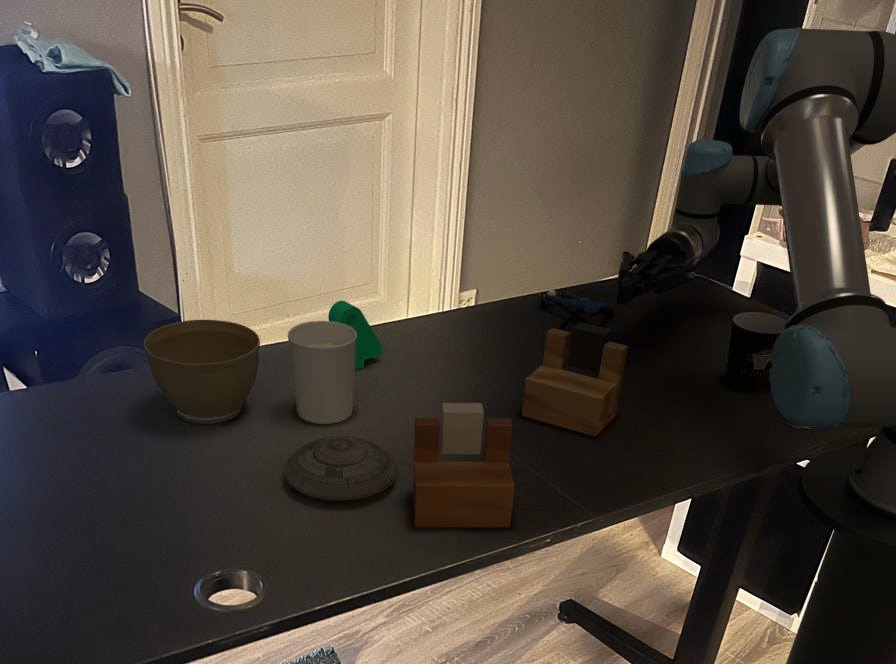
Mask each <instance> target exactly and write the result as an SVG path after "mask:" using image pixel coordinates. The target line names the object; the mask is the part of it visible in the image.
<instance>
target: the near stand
mask: <svg viewBox="0 0 896 664" xmlns="http://www.w3.org/2000/svg"><path fill="white" fill-rule="evenodd" d="M413 431H414V432H413V460H412V461H413V462H412V463H413V464H412V470H413V471H412V493H411V494H412V506H413V520H414V527H415V528H511V523H512V516H513V505H514V496H515V488H516V487H515V482H514V478H513V472H512V469H511V464H510V457H511V456H510V455H511V447H512V445H511V444H512V435H513V422H512V418H511V417H509V418H508V417H487V418H486V423H485V434H484V435H485V436H484V446H483V448H484V449H483V461H439V452H440V451H439V450H440V433H441V422H440V418H439V417H414V430H413Z"/></svg>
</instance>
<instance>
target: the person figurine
mask: <svg viewBox="0 0 896 664" xmlns="http://www.w3.org/2000/svg"><path fill="white" fill-rule="evenodd" d="M564 298H566V299H564ZM548 301H550V302H553V303H557V304H558V305H559V306H562V307H565V308H566V309H568V310H571V311H573V312H572V313H571V315H569V316H568V318H567V319H566V320H564V321H563V322H561V323H560V325H559V327H560V329H561V328H562V329H561V330H563V329H565V327H568V324H569V322H571V320H573V319H574V318H575V317H577V316H578V315H582V314H584V315H585V314H586V315H588V317H589V318H592V317H596V316H600V315H603V318H604V319H605V320H611V319H613V318H614V317H615V310H614V309H613V308H612V305H611V303H610V302H604V301H599V302H594V301H593V300H592V299H591V298H590V297H586V296H585V297H582V296H577V295H576V294H574V293H571V292H568V291H564V290H563V289H558V296H557V292H556V291H555V289H549V290H548V291H547V293H545V292H542V293H541V297H540V307H541V308H543V309H545V308H546V306H547V303H548Z"/></svg>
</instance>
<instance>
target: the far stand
mask: <svg viewBox="0 0 896 664" xmlns="http://www.w3.org/2000/svg"><path fill="white" fill-rule="evenodd" d="M570 336H571V331H565V330H563V329H559V328H553V327H551V328H550V329H549V330H547V331H546V334H545V343H544V350H543V359H542V364H541V365H540V366H539V367H538V368H536V370H534V371H533V372H532V373H531V374H529V375H528V376H527V377H525V381H524V388H523V399H522V408H521V409H522V410H521V417H524V418H528V419H531V420H535V421H538V422H542V423H546V424H550V425H553V426H557V427H560V428H564V429H566V430H570V431H575V432H577V433H581V434H585V435H588V436H591V437H597V436H598V435H599V434H600V433H601V432H602V431H603V430H604V428H605V427H607V426H608V424H609V423H611V421H612V420H614V418H615V417H616V416H617V410H618V404H619V399H620V394H621V387H622V381H623V376H624V371H625V365H626V359H627V353H628V347H629V346H628V345H624V344H620V343H615V342H612V341H610V342H608V343H606V344H605V345H604V346H603V352H602V359H601V365H600V372H599V373H598V377H597V378H596V377H592V376H589V375H585V374H581V373H576V372H573V371H569V370H566V367H567V360H568V352H569V344H570V338H571V337H570Z"/></svg>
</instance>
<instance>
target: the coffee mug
mask: <svg viewBox="0 0 896 664" xmlns="http://www.w3.org/2000/svg"><path fill="white" fill-rule="evenodd" d="M787 321H788V320H785V319H784V318H782V317H780V316H777V315H774V314H770V313H765V312H756V311H750V312H748V311H747V312H740V313H738V314H736V315H734V316H733V318H732V324H731V332H730V340H729V349H728V356H727V364H726V373H725V380H724V381H725V383H726V385H727V386H729V387H731V388H733V389H734V390H739V391H742V392H751V393H752V392H753V393H754V392H760V391H763V390H765V389H766V386H767V384H768V382H769V380H770V378H769V370H770V369H771V367H772V364H771V361H770V358H771V353H772V349H773V346H774V344H775V341H776V339H777V338H778V336H779V335H780V334H781V333H782V332H783V331H784V328H785V324H786V322H787Z"/></svg>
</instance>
